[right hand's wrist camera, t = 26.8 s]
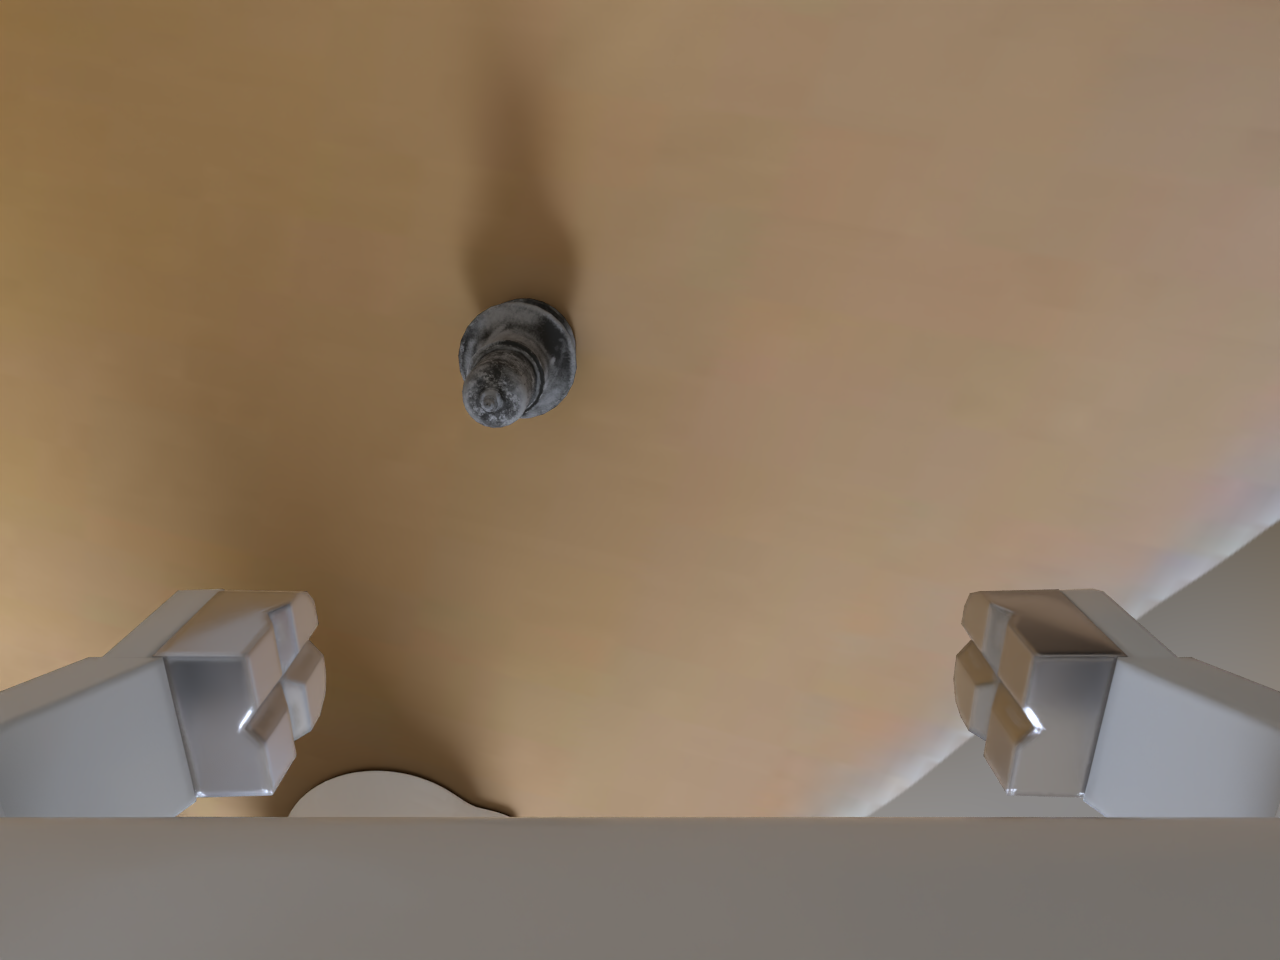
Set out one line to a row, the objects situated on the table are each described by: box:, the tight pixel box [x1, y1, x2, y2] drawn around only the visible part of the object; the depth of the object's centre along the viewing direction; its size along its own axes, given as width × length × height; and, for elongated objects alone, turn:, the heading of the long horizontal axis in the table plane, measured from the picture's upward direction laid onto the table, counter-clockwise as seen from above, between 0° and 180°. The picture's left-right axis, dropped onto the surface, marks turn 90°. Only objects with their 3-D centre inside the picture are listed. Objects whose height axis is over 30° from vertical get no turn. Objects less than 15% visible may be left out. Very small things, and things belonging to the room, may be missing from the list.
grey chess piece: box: [458, 299, 577, 428], centre depth 38 cm, size 6×6×12 cm
